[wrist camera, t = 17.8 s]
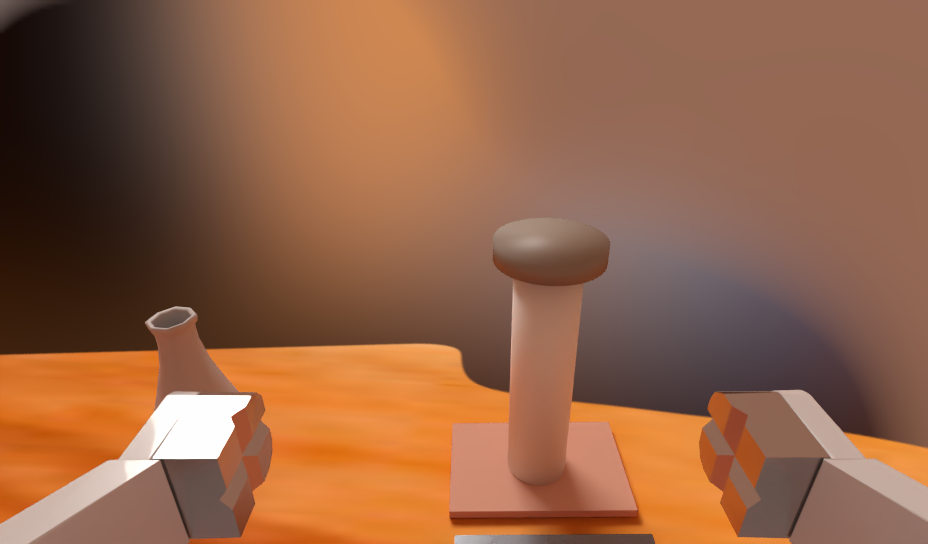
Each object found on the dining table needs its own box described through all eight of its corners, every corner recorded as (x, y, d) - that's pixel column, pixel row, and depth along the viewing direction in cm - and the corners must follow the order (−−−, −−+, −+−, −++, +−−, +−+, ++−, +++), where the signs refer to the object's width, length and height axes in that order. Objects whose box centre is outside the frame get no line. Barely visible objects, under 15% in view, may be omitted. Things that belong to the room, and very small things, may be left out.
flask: (271, 410, 44) (246, 306, 39) (194, 471, 38) (155, 358, 34) (213, 384, 47) (183, 285, 42) (134, 437, 41) (90, 329, 37)
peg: (492, 500, 35) (495, 265, 27) (489, 429, 40) (491, 218, 32) (590, 500, 34) (623, 264, 27) (573, 429, 40) (596, 217, 32)
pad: (449, 518, 34) (449, 511, 34) (453, 429, 41) (452, 423, 41) (636, 516, 34) (637, 510, 34) (607, 427, 41) (608, 421, 41)
